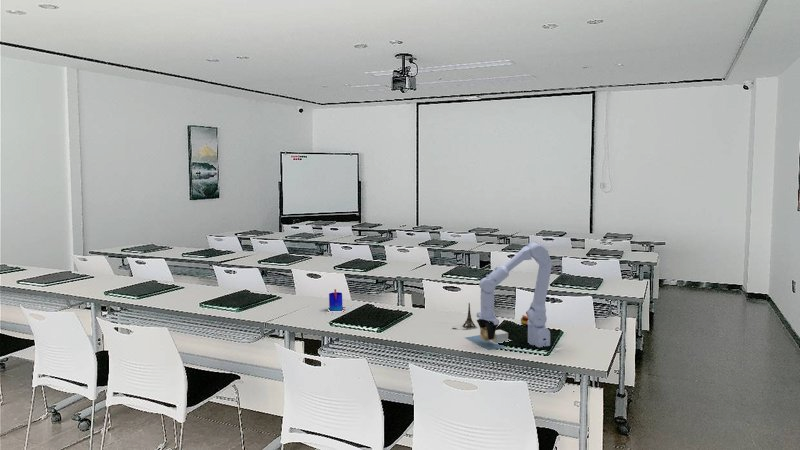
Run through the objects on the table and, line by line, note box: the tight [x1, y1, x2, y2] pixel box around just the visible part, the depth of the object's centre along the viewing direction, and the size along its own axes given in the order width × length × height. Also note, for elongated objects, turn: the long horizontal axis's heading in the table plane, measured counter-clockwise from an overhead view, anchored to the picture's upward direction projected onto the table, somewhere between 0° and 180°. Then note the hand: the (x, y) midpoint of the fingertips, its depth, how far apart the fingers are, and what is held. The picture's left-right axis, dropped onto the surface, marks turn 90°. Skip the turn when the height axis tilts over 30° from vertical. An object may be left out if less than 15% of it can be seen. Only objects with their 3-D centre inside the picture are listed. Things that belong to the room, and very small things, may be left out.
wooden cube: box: [479, 327, 495, 341], centre depth 243 cm, size 4×4×4 cm
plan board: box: [464, 334, 512, 351], centre depth 248 cm, size 20×16×1 cm
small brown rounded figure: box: [520, 311, 529, 326], centre depth 276 cm, size 8×10×7 cm
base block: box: [492, 329, 509, 343], centre depth 249 cm, size 6×6×4 cm
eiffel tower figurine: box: [451, 302, 478, 331], centre depth 273 cm, size 15×10×13 cm
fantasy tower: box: [328, 288, 346, 312], centre depth 311 cm, size 12×12×12 cm
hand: (487, 337), depth 243 cm, fingers closed on wooden cube, 4 cm apart
